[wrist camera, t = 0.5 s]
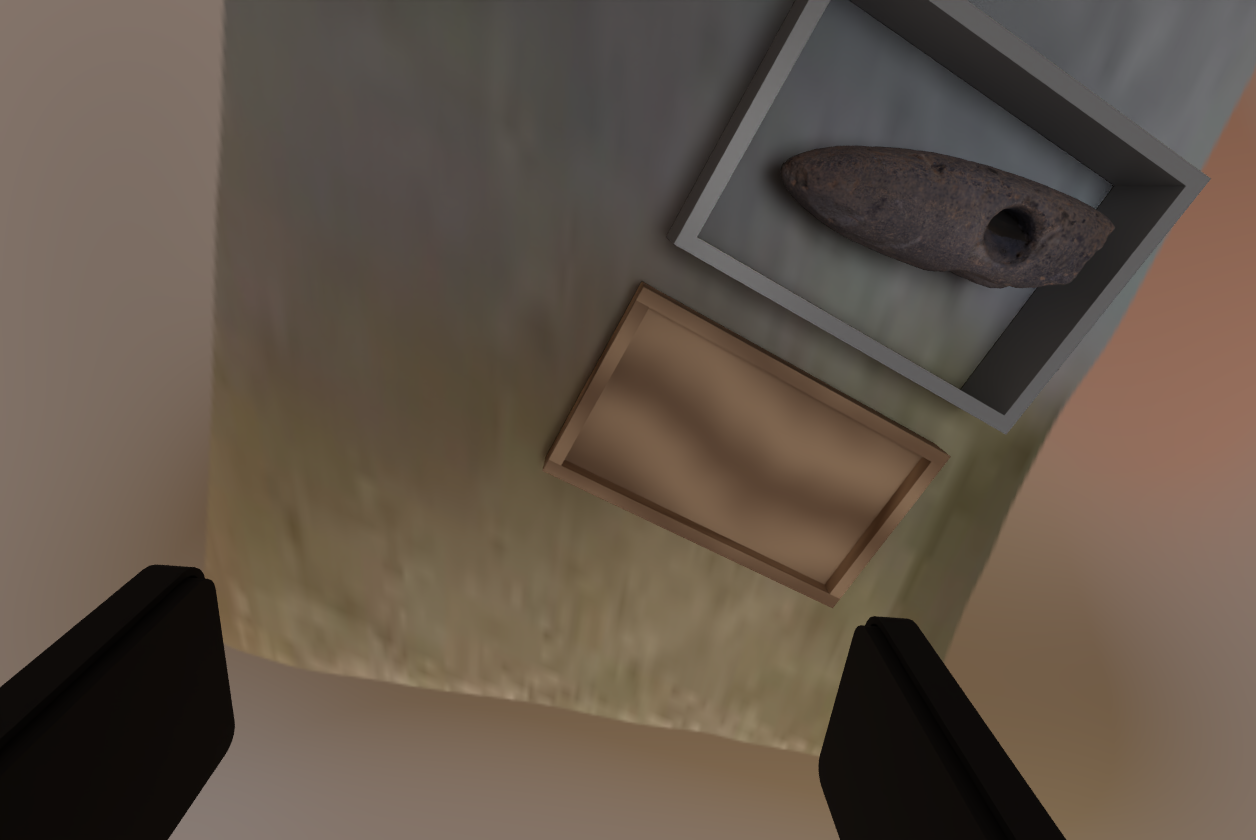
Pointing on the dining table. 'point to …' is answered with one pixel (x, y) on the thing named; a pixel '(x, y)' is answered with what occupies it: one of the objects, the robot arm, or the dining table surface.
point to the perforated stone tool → (948, 214)
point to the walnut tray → (739, 450)
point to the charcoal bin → (1050, 104)
